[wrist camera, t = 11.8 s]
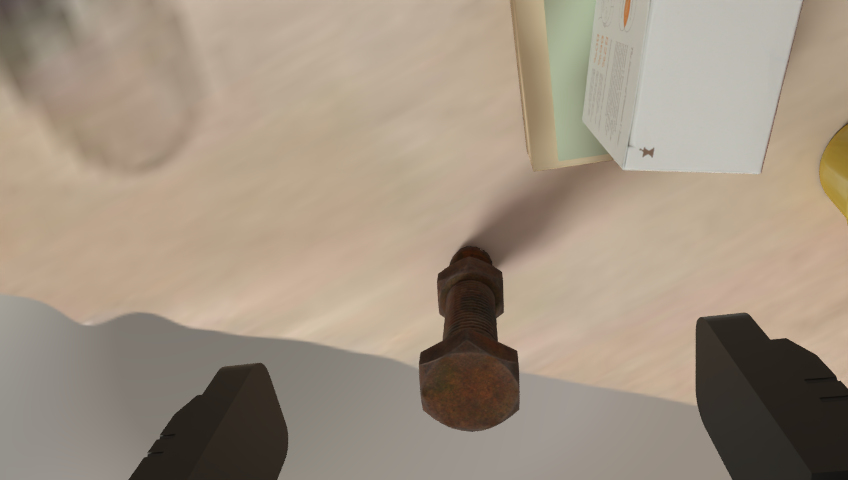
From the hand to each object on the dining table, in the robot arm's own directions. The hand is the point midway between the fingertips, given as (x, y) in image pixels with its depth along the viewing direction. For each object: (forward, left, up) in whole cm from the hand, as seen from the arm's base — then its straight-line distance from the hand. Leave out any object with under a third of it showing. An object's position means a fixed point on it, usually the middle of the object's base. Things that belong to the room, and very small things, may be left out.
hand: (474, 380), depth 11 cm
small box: (-9, -2, -25) cm, 27 cm away
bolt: (+2, +12, -30) cm, 33 cm away
